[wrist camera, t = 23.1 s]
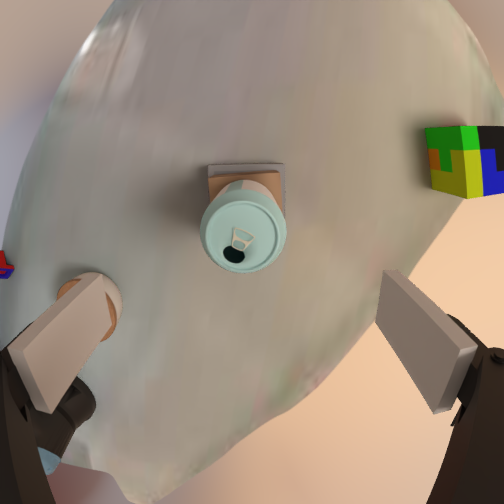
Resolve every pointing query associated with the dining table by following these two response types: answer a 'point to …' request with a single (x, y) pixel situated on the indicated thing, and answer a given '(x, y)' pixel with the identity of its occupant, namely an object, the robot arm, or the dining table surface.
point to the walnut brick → (263, 177)
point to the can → (243, 227)
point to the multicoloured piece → (5, 267)
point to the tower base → (251, 167)
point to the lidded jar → (111, 295)
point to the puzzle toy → (466, 160)
